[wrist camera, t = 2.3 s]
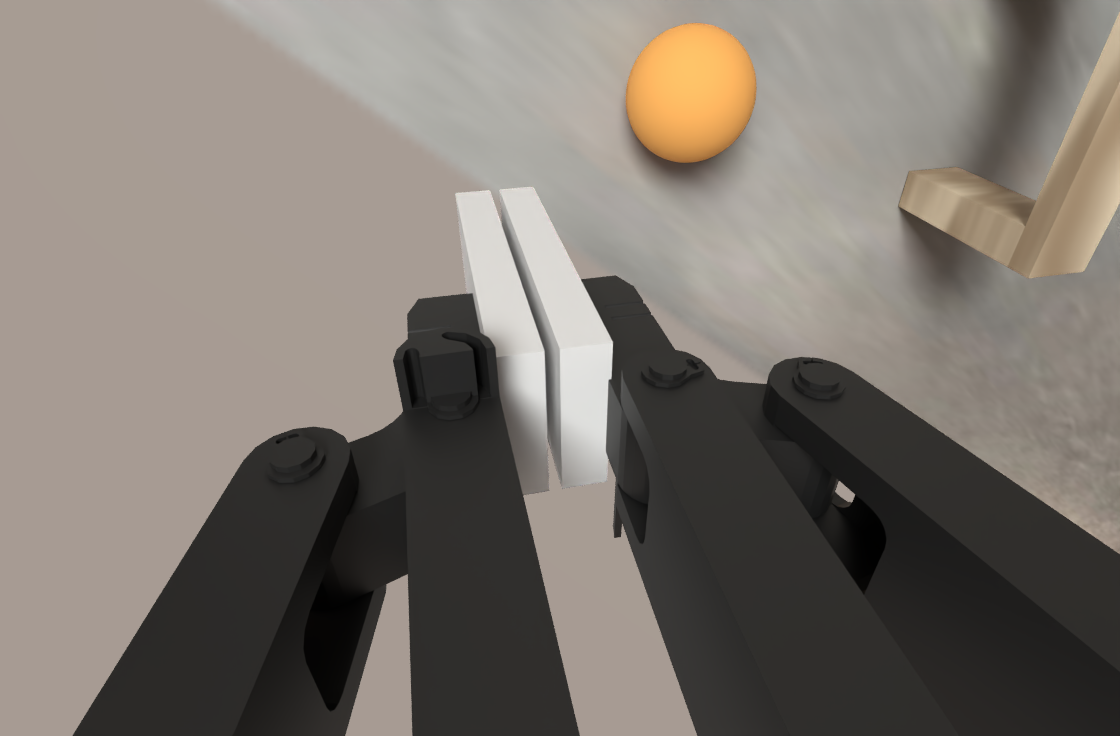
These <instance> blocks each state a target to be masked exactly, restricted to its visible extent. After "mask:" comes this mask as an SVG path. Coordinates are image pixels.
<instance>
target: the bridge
mask: <svg viewBox="0 0 1120 736" xmlns="http://www.w3.org/2000/svg"><path fill="white" fill-rule="evenodd" d="M1119 203H1120V12H1119V15H1118V17H1117V19H1116V21H1115V24H1114V26H1113V28H1112V30H1111V33H1110V35H1109V37H1108V40H1107V42H1106V44H1105V46H1104V49H1103V51H1102V53H1101V55H1100V58H1099V60H1098V62H1097V65H1096V67H1095V69H1094V71H1093V74H1092V76H1091V78H1090V80H1089V83H1088V85H1087V87H1086V90H1085V92H1084V94H1083V96H1082V99H1081V101H1080V103H1079V105H1078V108H1077V110H1076V112H1075V115H1074V117H1073V119H1072V121H1071V124H1070V126H1069V128H1068V130H1067V133H1066V135H1065V137H1064V139H1063V142H1062V144H1061V146H1060V149H1059V151H1058V153H1057V155H1056V158H1055V160H1054V162H1053V164H1052V167H1051V169H1050V171H1049V174H1048V176H1047V178H1046V180H1045V183H1044V185H1043V187H1042V189H1041V192H1040V194H1039V196H1038V199H1037V201H1035V200H1033V199H1030V198H1028V197H1026V196H1023V195H1021V194H1019V193H1016V192H1014V191H1012V190H1009V189H1007V188H1005V187H1002V186H1000V185H998V184H995V183H993V182H991V181H988V180H986V179H984V178H981V177H979V176H977V175H974V174H972V173H970V172H967V171H965V170H963V169H960V168H958V167H952V168H941V169H929V170H918V171H909V174H908V177H907V180H906V184H905V187H904V190H903V193H902V196H901V200H900V203H899V207H901V208H903V209H904V210H906V211H908V212H910V213H912V214H913V215H915V216H917V217H919V218H921V219H922V220H924V221H926V222H928V223H929V224H931V225H933V226H935V227H937V228H938V229H940V230H942V231H944V232H946V233H947V234H949V235H951V236H953V237H955V238H956V239H958V240H960V241H962V242H964V243H965V244H967V245H969V246H971V247H973V248H974V249H976V250H978V251H980V252H981V253H983V254H985V255H987V256H989V257H990V258H992V259H994V260H996V261H998V262H999V263H1001V264H1003V265H1005V266H1007V267H1008V268H1010V269H1012V270H1014V271H1016V272H1017V273H1019V274H1021V275H1023V276H1025V277H1026V278H1035V277H1044V276H1052V275H1060V274H1068V273H1076V272H1084V270H1085V269H1086V267H1087V265H1088V263H1089V261H1090V259H1091V257H1092V255H1093V253H1094V251H1095V249H1096V247H1097V245H1098V244H1099V242H1100V240H1101V238H1102V236H1103V234H1104V232H1105V230H1106V228H1107V226H1108V224H1109V222H1110V221H1111V219H1112V217H1113V215H1114V213H1115V211H1116V209H1117V207H1118V205H1119Z"/></svg>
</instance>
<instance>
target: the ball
mask: <svg viewBox="0 0 1120 736" xmlns="http://www.w3.org/2000/svg"><path fill="white" fill-rule="evenodd" d="M755 99H756V76H755V71H754V67H753V64H752V62H751V59H750V57H749V55H748V53H747V51H746V50H745V48H744V47H743V46H742V45H741V43H740V42H739V41H738V40H737V39H736V38H735V37H734V36H732V35H731V34H730V33H728V32H726V31H725V30H723V29H721V28H718V27H716V26H713V25H708V24H702V23H691V24H684V25H680V26H677V27H674V28H671V29H669V30H667V31H665V32H663V33H662V34H660V35H659V36H657V37H656V38H655V39H653V40H652V41H651V42H650V43H649V44H648V45H647V46H646V47H645V48H644V50H643V51H642V52H641V54H640V55H639V56H638V58H637V60H636V61H635V63H634V65H633V68H632V70H631V73H630V76H629V79H628V83H627V89H626V108H627V114H628V118H629V121H630V124H631V126H632V129H633V131H634V133H635V134H636V136H637V137H638V139H639V140H640V141H641V142H642V144H643V145H644V146H645V147H646V148H648V149H649V150H650V151H651V152H653V153H654V154H656V155H657V156H659V157H662V158H664V159H667V160H670V161H674V162H681V163H690V162H698V161H702V160H706V159H708V158H711V157H713V156H715V155H717V154H718V153H720V152H722V151H723V150H725V149H726V148H727V147H729V146H730V145H731V144H732V143H733V142H734V141H735V140H736V139H737V138H738V137H739V135H740V134H741V133H742V131H743V130H744V128H745V127H746V125H747V123H748V121H749V119H750V117H751V114H752V111H753V108H754V104H755Z"/></svg>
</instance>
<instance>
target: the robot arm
mask: <svg viewBox="0 0 1120 736" xmlns="http://www.w3.org/2000/svg"><path fill="white" fill-rule="evenodd" d="M499 190H500V205H501V219H502V225H501V222H500V219H499V216H498V213H497V210H496V207H495V204H494V201H493V198H492V195H491V192H490V190H487V191H475V192H463V193H455V194H456V203H457V212H458V221H459V230H460V239H461V247H462V256H463V265H464V274H465V283H466V292H467V294H460V295H451V296H442V297H433V298H423V299H418V301H417V302H416V303H415V305H414V306H413V307H412V309H411V310H410V311H409V313H408V315H407V316H408V317H407V320H408V340H406V341H405V342H404V343H403V344H402V345H401V346H400V347H399V348H398V349H397V351H396V354H395V356H394V359H393V362H394V367H395V372H396V377H397V382H398V387H399V392H400V397H401V402H402V407H403V412H402V414H401V415H400V416H399V417H398V418H397V419H396V420H395V421H394V422H392V423H391V424H389V425H388V426H386V427H385V428H383V429H382V430H380V431H378V432H375V433H373V434H371V435H369V436H366V437H363V438H360V439H358V440H355V441H353V442H350V443H348V442H347V440H346V438H345V437H344V436H343V435H341V434H339V433H337V432H336V431H334V430H332V429H326V428H319V427H307V428H299V429H293V430H290V431H287V432H284V433H281V434H279V435H276V436H273V437H272V438H270V439H268V440H267V441H265V442H263V443H262V444H260V445H259V446H257V447H255V449H254V450H253V451H252V452H251V453H250V454H249V455H248V456H247V457H246V459H245V460H244V461H243V462H242V464H241V465H240V467H239V468H238V470H237V472H236V473H235V475H234V476H233V478H232V480H231V482H230V483H229V485H228V486H227V488H226V489H225V491H224V493H223V494H222V496H221V498H220V499H219V501H218V502H217V504H216V506H215V507H214V509H213V510H212V512H211V514H210V515H209V517H208V519H207V520H206V522H205V523H204V525H203V526H202V528H201V530H200V531H199V533H198V534H197V536H196V538H195V539H194V541H193V542H192V544H191V546H190V547H189V549H188V551H187V552H186V554H185V555H184V557H183V559H182V560H181V562H180V563H179V565H178V567H177V568H176V570H175V572H174V573H173V575H172V576H171V578H170V580H169V581H168V583H167V585H166V586H165V588H164V589H163V591H162V593H161V594H160V596H159V597H158V599H157V600H156V602H155V604H154V605H153V607H152V609H151V610H150V612H149V613H148V615H147V617H146V618H145V620H144V621H143V623H142V625H141V626H140V628H139V630H138V631H137V633H136V634H135V636H134V637H133V639H132V641H131V642H130V644H129V646H128V647H127V649H126V650H125V652H124V654H123V656H122V657H121V659H120V660H119V662H118V663H117V665H116V666H115V668H114V670H113V671H112V673H111V675H110V676H109V678H108V680H107V681H106V683H105V684H104V686H103V687H102V689H101V691H100V692H99V694H98V695H97V697H96V699H95V700H94V702H93V703H92V705H91V707H90V708H89V710H88V712H87V713H86V715H85V716H84V718H83V720H82V721H81V723H80V725H79V726H78V728H77V729H76V731H75V733H74V734H73V736H345V734H346V730H347V727H348V724H349V720H350V717H351V713H352V709H353V706H354V702H355V699H356V695H357V692H358V688H359V685H360V681H361V678H362V674H363V671H364V667H365V664H366V660H367V657H368V653H369V650H370V646H371V643H372V639H373V636H374V632H375V629H376V625H377V622H378V618H379V615H380V611H381V608H382V604H383V601H384V597H385V593H386V584H388V583H390V582H392V581H394V580H396V579H398V578H400V577H402V576H404V575H407V574H408V593H409V627H410V628H409V629H410V662H411V697H412V698H411V699H412V733H413V736H580V735H579V731H578V727H577V722H576V718H575V714H574V709H573V706H572V701H571V697H570V692H569V688H568V684H567V680H566V675H565V671H564V667H563V663H562V659H561V654H560V650H559V646H558V642H557V637H556V633H555V629H554V625H553V621H552V616H551V612H550V608H549V603H548V600H547V595H546V591H545V586H544V582H543V578H542V574H541V569H540V565H539V561H538V557H537V553H536V548H535V544H534V540H533V536H532V531H531V527H530V523H529V519H528V515H527V510H526V506H525V502H524V498H523V495H526V494H533V493H539V492H545V491H549V473H548V442H549V445H550V449H551V452H552V456H553V459H554V463H555V466H556V469H557V473H558V477H559V480H560V484H561V487H562V489H563V488H570V487H576V486H582V485H588V484H594V483H601V482H606V481H607V470H608V459H609V461H610V464H611V466H612V469H613V472H614V474H615V477H616V486H615V504H614V523H613V529H614V538H616V537H621V527H622V524H623V526H624V529H625V532H626V535H627V538H628V541H629V544H630V546H631V549H632V552H633V555H634V558H635V561H636V563H637V566H638V569H639V572H640V574H641V577H642V580H643V583H644V586H645V589H646V592H647V594H648V597H649V600H650V603H651V606H652V609H653V611H654V614H655V617H656V620H657V623H658V625H659V628H660V631H661V634H662V637H663V640H664V643H665V645H666V648H667V651H668V654H669V656H670V659H671V662H672V665H673V668H674V671H675V673H676V677H677V679H678V682H679V685H680V688H681V691H682V693H683V696H684V699H685V702H686V705H687V708H688V710H689V713H690V716H691V719H692V721H693V724H694V727H695V730H696V733H697V736H1120V554H1118V553H1117V552H1115V551H1114V550H1113V549H1111V548H1110V547H1108V546H1107V545H1105V544H1104V543H1102V542H1101V541H1099V540H1098V539H1096V538H1095V537H1094V536H1092V535H1091V534H1089V533H1088V532H1086V531H1085V530H1083V529H1082V528H1080V527H1079V526H1077V525H1076V524H1075V523H1073V522H1072V521H1070V520H1069V519H1067V518H1066V517H1064V516H1063V515H1061V514H1060V513H1058V512H1057V511H1056V510H1054V509H1053V508H1051V507H1050V506H1048V505H1047V504H1045V503H1044V502H1042V501H1041V500H1039V499H1038V498H1037V497H1035V496H1034V495H1032V494H1031V493H1029V492H1028V491H1026V490H1025V489H1023V488H1022V487H1020V486H1019V485H1018V484H1016V483H1015V482H1013V481H1012V480H1010V479H1009V478H1007V477H1006V476H1004V475H1003V474H1001V473H1000V472H998V471H997V470H996V469H994V468H993V467H991V466H990V465H988V464H987V463H985V462H984V461H982V460H981V459H979V458H978V457H977V456H975V455H974V454H972V453H971V452H969V451H968V450H966V449H965V448H963V447H962V446H960V445H959V444H958V443H956V442H955V441H953V440H952V439H950V438H949V437H947V436H946V435H944V434H943V433H941V432H940V431H939V430H937V429H936V428H934V427H933V426H931V425H930V424H928V423H927V422H925V421H924V420H922V419H921V418H920V417H918V416H917V415H915V414H914V413H912V412H911V411H909V410H908V409H906V408H905V407H903V406H902V405H901V404H899V403H898V402H896V401H895V400H893V399H892V398H890V397H889V396H887V395H886V394H884V393H883V392H882V391H880V390H879V389H877V388H876V387H874V386H873V385H871V384H870V383H868V382H867V381H865V380H864V379H863V378H861V377H860V376H858V375H857V374H855V373H854V372H852V371H850V370H848V369H846V368H845V367H843V366H841V365H839V364H837V363H833V362H830V361H826V360H823V359H819V358H810V357H809V358H805V357H799V358H792V359H786V360H784V361H782V362H780V363H778V364H776V365H774V367H773V368H772V370H771V372H770V373H769V376H768V381H767V384H758V383H743V382H732V381H725V380H719V379H717V378H716V376H715V375H714V373H713V372H712V370H711V369H710V368H709V367H708V366H707V365H706V364H705V363H704V362H703V361H702V360H701V359H699V358H697V357H695V356H693V355H691V354H689V353H687V352H682V351H678V350H675V349H674V347H673V346H672V344H671V343H670V342H669V340H668V338H667V337H666V335H665V334H664V332H663V331H662V329H661V328H660V326H659V324H658V323H657V321H656V320H655V318H654V317H653V316H652V315H651V312H650V311H649V309H648V307H647V306H646V304H643V300H642V298H641V297H640V295H639V294H638V292H637V291H636V289H635V288H634V286H632V285H630V284H629V283H627V282H625V281H624V280H622V279H620V278H619V277H617V276H607V277H599V278H590V279H580V277H579V275H578V273H577V271H576V269H575V267H574V265H573V264H572V262H571V260H570V258H569V256H568V254H567V252H566V250H565V248H564V246H563V244H562V242H561V240H560V238H559V236H558V234H557V232H556V230H555V228H554V226H553V224H552V223H551V221H550V219H549V217H548V215H547V213H546V211H545V209H544V207H543V205H542V203H541V201H540V199H539V197H538V195H537V193H536V191H535V189H534V187H523V188H511V189H499ZM547 438H548V442H547ZM838 481H841V482H842V483H843V484H844V485H845V486H846V487H847V488H849V489H850V490H851V491H852V492H853V493H854V494H855V497H854V500H853V502H852V503H851V502H847V501H846V500H844V499H843V498H841V497H840V496H839V495H838V494H837V493H835V490H836V487H837V484H838Z"/></svg>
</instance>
